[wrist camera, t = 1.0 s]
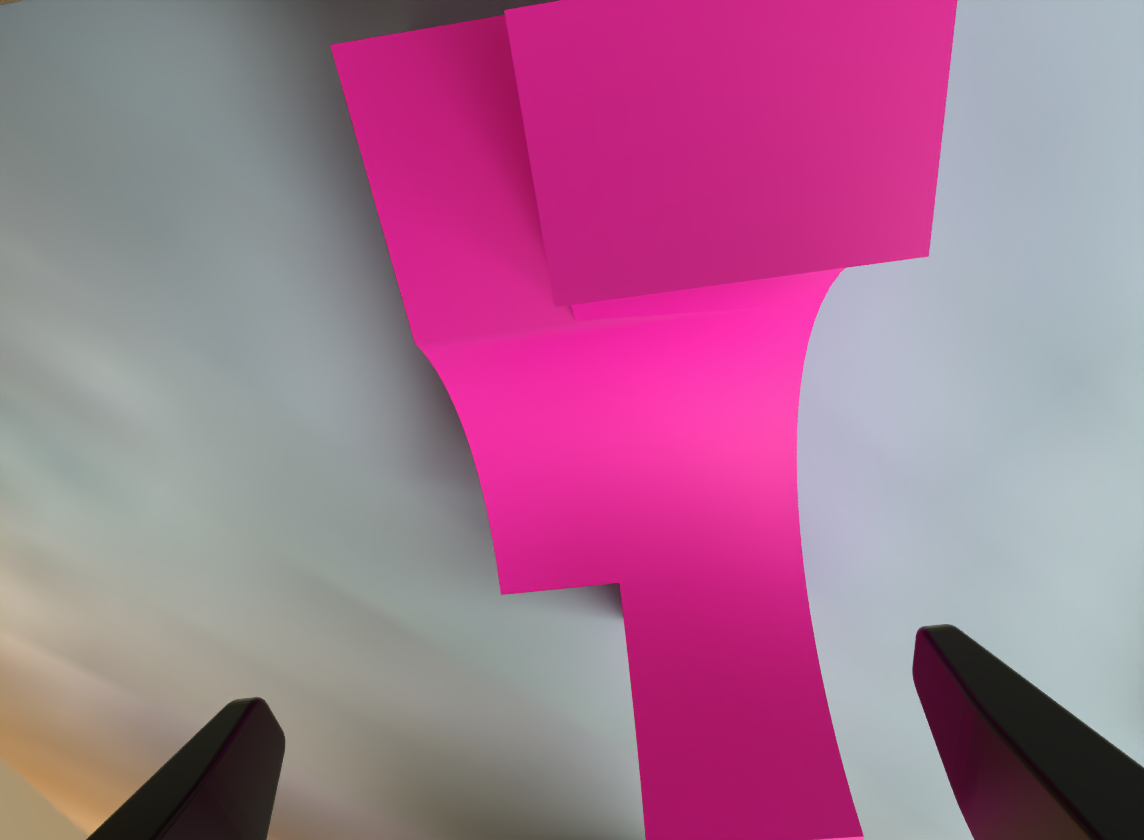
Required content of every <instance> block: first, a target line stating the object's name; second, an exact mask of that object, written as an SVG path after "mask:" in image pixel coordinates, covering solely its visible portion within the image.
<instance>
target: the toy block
mask: <svg viewBox="0 0 1144 840" xmlns="http://www.w3.org/2000/svg"><path fill="white" fill-rule="evenodd" d="M956 8H957V0H559V1H554V2H548V3H542V4H536V5H531V6H525V7H519V8H513V9H507V10H504V11H505V15H500V16H495V17H489V18H483V19H477V20H471V21H466V22H460V23H454V24H448V25H442V26H437V27H431V28H425V29H419V30H413V31H407V32H402V33H396V34H390V35H384V36H378V37H373V38H367V39H361V40H355V41H349V42H344V43H338V44H332V45H330V46H331V50H332V53H333V57H334V60H335V64H336V67H337V71H338V74H339V78H340V81H341V85H342V88H343V92H344V95H345V99H346V102H347V106H348V109H349V113H350V117H351V120H352V124H353V127H354V131H355V134H356V138H357V141H358V145H359V148H360V152H361V155H362V159H363V162H364V166H365V169H366V173H367V176H368V180H369V183H370V187H371V190H372V194H373V198H374V201H375V205H376V208H377V212H378V215H379V219H380V222H381V226H382V229H383V233H384V236H385V240H386V243H387V247H388V250H389V254H390V257H391V261H392V264H393V268H394V271H395V275H396V279H397V282H398V286H399V289H400V293H401V296H402V300H403V303H404V307H405V310H406V314H407V317H408V321H409V324H410V328H411V331H412V335H413V338H414V342H415V344H416V345H417V346H418V347H419V348H420V349H421V350H422V352H423V353H424V354H425V355H426V356H427V358H428V359H429V361H430V362H431V364H432V365H433V367H434V368H435V370H436V371H437V373H438V375H439V376H440V378H441V380H442V382H443V383H444V385H445V387H446V389H447V391H448V393H449V395H450V397H451V399H452V402H453V404H454V406H455V408H456V411H457V413H458V416H459V418H460V421H461V423H462V426H463V428H464V431H465V434H466V437H467V440H468V443H469V446H470V449H471V452H472V455H473V459H474V462H475V465H476V469H477V472H478V476H479V480H480V484H481V488H482V491H483V496H484V500H485V505H486V509H487V513H488V518H489V523H490V528H491V534H492V539H493V545H494V550H495V556H496V562H497V569H498V576H499V583H500V590H501V595H505V594H514V593H524V592H534V591H544V590H554V589H564V588H574V587H583V586H593V585H603V584H613V583H619V584H620V592H621V600H622V609H623V617H624V626H625V635H626V644H627V653H628V661H629V671H630V680H631V689H632V699H633V709H634V718H635V728H636V739H637V749H638V759H639V770H640V780H641V791H642V802H643V813H644V825H645V837H646V840H863V838H864V836H863V833H862V829H861V826H860V823H859V819H858V816H857V813H856V810H855V806H854V803H853V800H852V796H851V793H850V789H849V785H848V782H847V778H846V775H845V771H844V768H843V764H842V760H841V756H840V752H839V748H838V745H837V741H836V737H835V733H834V728H833V724H832V720H831V716H830V712H829V707H828V703H827V698H826V694H825V689H824V685H823V680H822V675H821V670H820V665H819V660H818V655H817V650H816V644H815V639H814V633H813V627H812V621H811V615H810V609H809V602H808V595H807V589H806V581H805V573H804V565H803V556H802V546H801V537H800V525H799V511H798V493H797V422H798V406H799V395H800V385H801V379H802V372H803V365H804V360H805V355H806V350H807V346H808V341H809V338H810V334H811V331H812V327H813V324H814V321H815V318H816V316H817V313H818V311H819V308H820V305H821V303H822V301H823V299H824V297H825V295H826V293H827V292H828V290H829V288H830V286H831V285H832V283H833V282H834V281H835V279H836V278H837V277H838V275H839V274H840V272H842V271H843V270H844V269H845V268H847V267H854V266H861V265H869V264H876V263H884V262H891V261H898V260H906V259H913V258H920V257H928V256H929V249H930V240H931V231H932V222H933V213H934V204H935V195H936V186H937V177H938V168H939V159H940V150H941V142H942V133H943V124H944V115H945V106H946V97H947V88H948V79H949V70H950V61H951V52H952V43H953V34H954V25H955V17H956Z"/></svg>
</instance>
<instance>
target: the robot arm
mask: <svg viewBox="0 0 1144 840" xmlns="http://www.w3.org/2000/svg"><path fill="white" fill-rule="evenodd" d="M912 672H913V680H914V684H915V687H916V690H917V693H918V696H919V699H920V701H921V704H922V707H923V710H924V713H925V715H926V718H927V721H928V724H929V726H930V729H931V732H932V735H933V737H934V740H935V743H936V746H937V749H938V751H939V754H940V757H941V760H942V762H943V765H944V768H945V771H946V773H947V776H948V779H949V782H950V785H951V787H952V790H953V792H954V795H955V798H956V800H957V803H958V805H959V808H960V810H961V812H962V814H963V816H964V819H965V821H966V823H967V825H968V827H969V829H970V831H971V833H972V836H973V838H974V840H1144V767H1142V766H1141V765H1140V764H1138V763H1137V762H1136V761H1134V760H1133V759H1132V758H1130V757H1129V756H1128V755H1126V754H1125V753H1124V752H1122V751H1121V750H1120V749H1118V748H1117V747H1116V746H1114V745H1113V744H1112V743H1110V742H1109V741H1108V740H1106V739H1105V738H1104V737H1102V736H1101V735H1100V734H1098V733H1097V732H1096V731H1094V730H1093V729H1092V728H1090V727H1089V726H1088V725H1086V724H1085V723H1084V722H1082V721H1081V720H1080V719H1078V718H1077V717H1076V716H1074V715H1073V714H1072V713H1070V712H1069V711H1068V710H1066V709H1065V708H1064V707H1062V706H1061V705H1060V704H1058V703H1057V702H1056V701H1054V700H1053V699H1052V698H1050V697H1049V696H1048V695H1046V694H1045V693H1044V692H1042V691H1041V690H1040V689H1038V688H1037V687H1036V686H1034V685H1033V684H1032V683H1030V682H1029V681H1028V680H1026V679H1025V678H1024V677H1022V676H1021V675H1020V674H1018V673H1017V672H1016V671H1014V670H1013V669H1012V668H1010V667H1009V666H1008V665H1006V664H1005V663H1004V662H1002V661H1001V660H1000V659H998V658H997V657H996V656H994V655H993V654H992V653H990V652H989V651H988V650H986V649H985V648H984V647H982V646H981V645H980V644H978V643H977V642H976V641H974V640H973V639H972V638H970V637H969V636H968V635H966V634H965V633H964V632H962V631H961V630H960V629H958V628H957V627H955V626H953V625H949V624H942V625H933V626H923V627H921V628H919V629H918V631H917V634H916V641H915V650H914V659H913V668H912ZM284 752H285V736H284V732H283V730H282V728H281V727H280V725H279V723H278V721H277V720H276V718H275V716H274V715H273V713H272V711H271V709H270V708H269V706H268V704H267V703H266V701H265V700H263V699H262V698H259V697H254V698H245V699H237V700H234V701H231V702H230V703H228V704H227V705H226V706H225V707H224V708H223V709H222V710H221V711H220V712H219V713H218V714H217V715H216V716H214V717H213V718H212V719H211V720H210V721H209V722H208V723H207V724H206V725H205V726H204V727H203V728H202V729H201V730H200V731H199V732H198V733H197V734H196V735H195V736H194V737H193V738H192V739H191V740H189V741H188V742H187V743H186V744H185V745H184V746H183V747H182V748H181V749H180V750H179V751H178V752H177V753H176V754H175V755H174V756H173V757H172V758H171V759H170V760H169V761H168V762H167V763H165V764H164V765H163V766H162V767H161V768H160V769H159V770H158V771H157V772H156V773H155V774H154V775H153V776H152V777H151V778H150V779H149V780H148V781H147V782H146V783H145V784H144V785H143V786H141V787H140V788H139V789H138V790H137V791H136V792H135V793H134V794H133V795H132V796H131V797H130V798H129V799H128V800H127V801H126V802H125V803H124V804H123V805H122V806H121V807H120V808H119V809H118V810H116V811H115V812H114V813H113V814H112V815H111V816H110V817H109V818H108V819H107V820H106V821H105V822H104V823H103V824H102V825H101V826H100V827H99V828H98V829H97V830H96V831H95V832H94V833H92V834H91V835H90V836H89V837H88V838H87V839H86V840H266V839H267V834H268V830H269V825H270V820H271V815H272V810H273V805H274V801H275V796H276V791H277V786H278V781H279V776H280V772H281V767H282V762H283V757H284Z"/></svg>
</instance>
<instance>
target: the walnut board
mask: <svg viewBox="0 0 1144 840" xmlns="http://www.w3.org/2000/svg"><path fill="white" fill-rule="evenodd" d="M17 1H21V0H0V5H2V4H7V3H12V2H17Z"/></svg>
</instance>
